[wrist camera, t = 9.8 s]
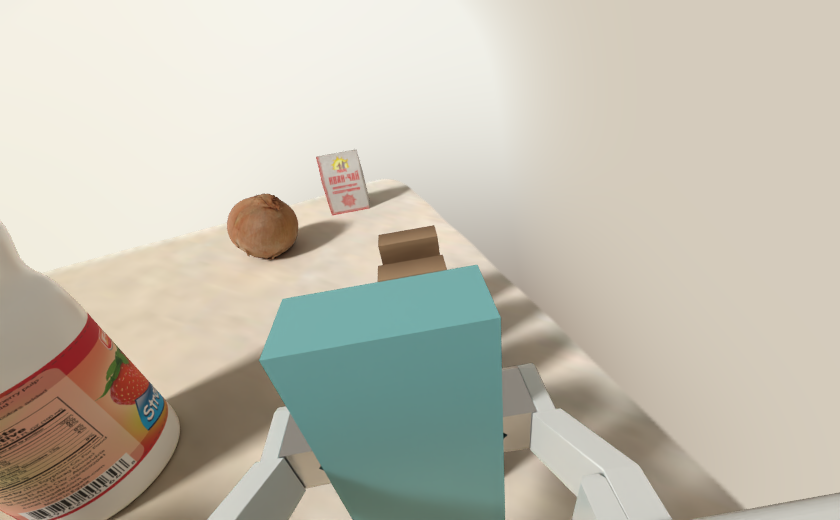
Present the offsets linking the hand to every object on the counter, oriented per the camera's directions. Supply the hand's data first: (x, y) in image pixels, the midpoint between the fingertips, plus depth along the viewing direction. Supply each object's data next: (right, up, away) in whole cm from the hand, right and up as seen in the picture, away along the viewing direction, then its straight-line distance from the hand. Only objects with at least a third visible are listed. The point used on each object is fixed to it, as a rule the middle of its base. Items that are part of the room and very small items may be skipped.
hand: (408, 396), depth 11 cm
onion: (-22, +6, +42) cm, 47 cm away
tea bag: (-12, +14, +52) cm, 55 cm away
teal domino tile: (+1, -5, +2) cm, 6 cm away
